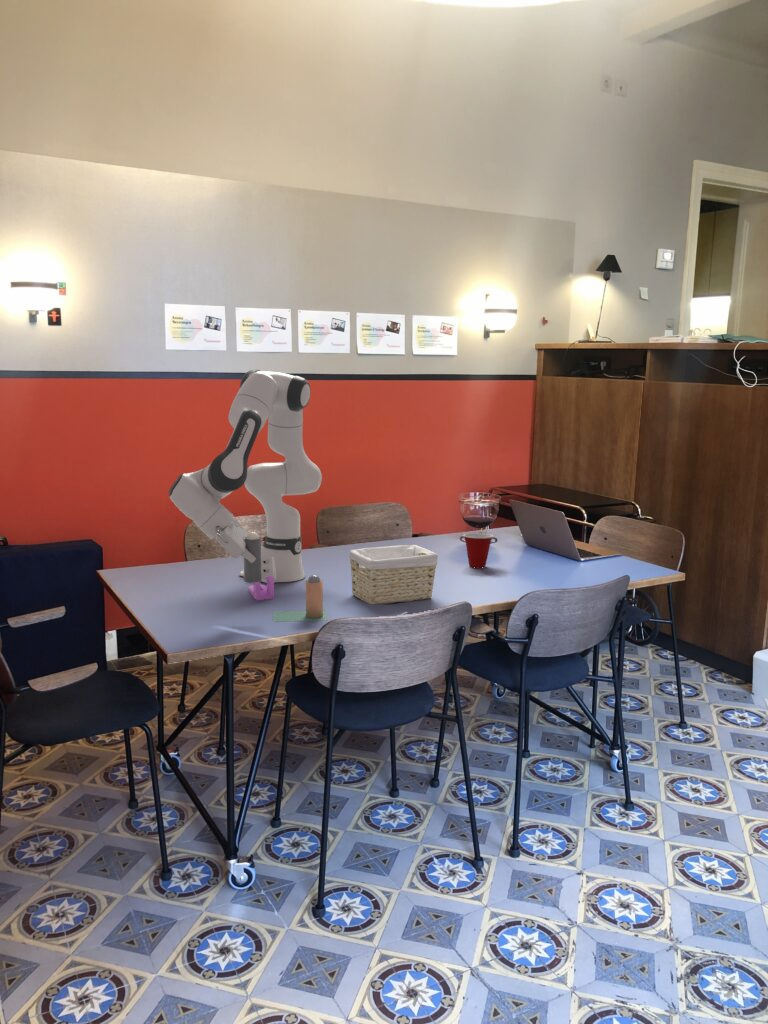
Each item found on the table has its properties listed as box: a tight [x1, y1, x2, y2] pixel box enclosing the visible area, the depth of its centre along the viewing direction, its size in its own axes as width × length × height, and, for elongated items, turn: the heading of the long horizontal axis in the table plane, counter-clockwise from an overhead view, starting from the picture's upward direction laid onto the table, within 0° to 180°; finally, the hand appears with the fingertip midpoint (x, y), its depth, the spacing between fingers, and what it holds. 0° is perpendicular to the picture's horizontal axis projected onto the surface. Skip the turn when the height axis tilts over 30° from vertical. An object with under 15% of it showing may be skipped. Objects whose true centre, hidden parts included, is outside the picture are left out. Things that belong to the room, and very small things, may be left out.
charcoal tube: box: [243, 531, 262, 584], centre depth 217 cm, size 5×5×14 cm
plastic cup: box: [463, 532, 494, 569], centre depth 283 cm, size 11×11×12 cm
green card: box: [272, 610, 328, 623], centre depth 222 cm, size 15×9×1 cm, turn 97°
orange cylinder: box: [305, 574, 324, 618], centre depth 222 cm, size 5×5×12 cm
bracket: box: [248, 575, 275, 601], centre depth 246 cm, size 13×6×7 cm, turn 21°
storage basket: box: [349, 544, 439, 605], centre depth 244 cm, size 24×16×15 cm
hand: (254, 557), depth 218 cm, fingers closed on charcoal tube, 5 cm apart
